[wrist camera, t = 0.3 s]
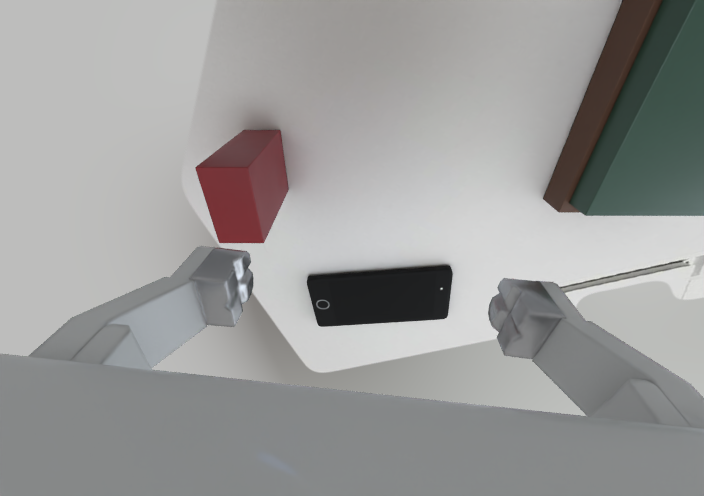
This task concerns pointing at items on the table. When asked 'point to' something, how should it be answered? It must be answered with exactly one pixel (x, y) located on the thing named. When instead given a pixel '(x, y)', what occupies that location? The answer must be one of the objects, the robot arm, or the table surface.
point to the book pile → (640, 119)
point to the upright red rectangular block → (245, 185)
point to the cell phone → (381, 296)
